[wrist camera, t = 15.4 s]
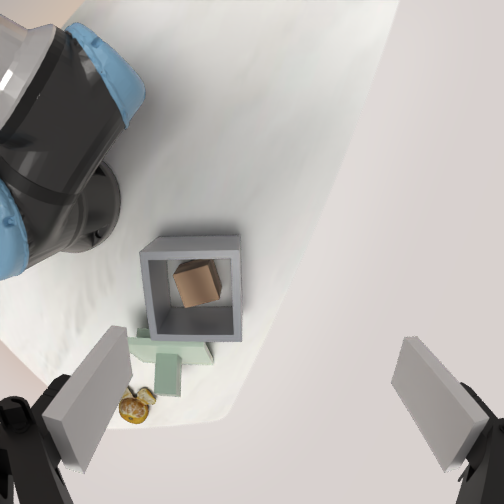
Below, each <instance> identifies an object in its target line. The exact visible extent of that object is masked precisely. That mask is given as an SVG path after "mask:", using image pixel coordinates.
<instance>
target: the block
mask: <svg viewBox="0 0 504 504" xmlns="http://www.w3.org/2000/svg"><path fill="white" fill-rule="evenodd" d="M173 277H174V280H175V283H176V285H177V288H178V291H179V293H180V296H181V299H182V301H183V304H184V307H185V308H188V307H192V306H196V305H200V304H204V303H208V302H211V301H215V300H219V299H220V294H221V289H222V285H221V282H220V279H219V276H218V273H217V270H216V267H215V264H214V261H213V259H197V260H194V261H190V262H187V263H183V264H180V265H179V266H178V268H177V269H176V271H175V272H174V274H173Z"/></svg>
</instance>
